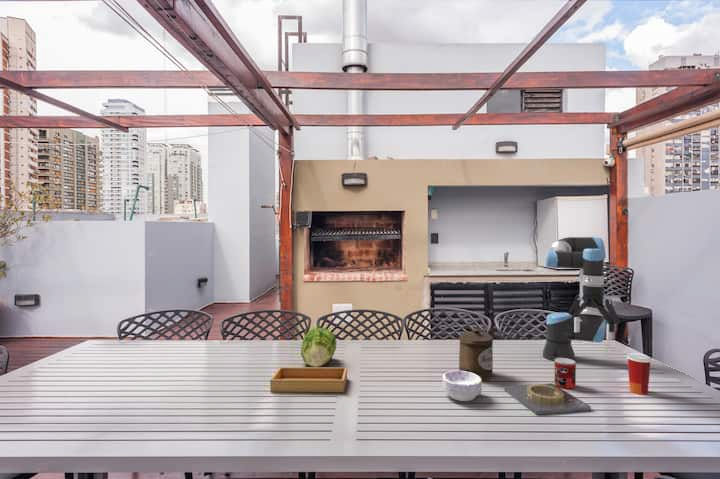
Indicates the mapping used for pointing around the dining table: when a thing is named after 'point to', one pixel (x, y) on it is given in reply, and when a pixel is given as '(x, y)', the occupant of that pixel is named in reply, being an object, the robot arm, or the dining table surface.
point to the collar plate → (546, 406)
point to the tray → (309, 379)
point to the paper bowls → (462, 385)
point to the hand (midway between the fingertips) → (592, 335)
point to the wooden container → (476, 353)
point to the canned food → (565, 373)
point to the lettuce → (318, 347)
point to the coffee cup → (638, 372)
